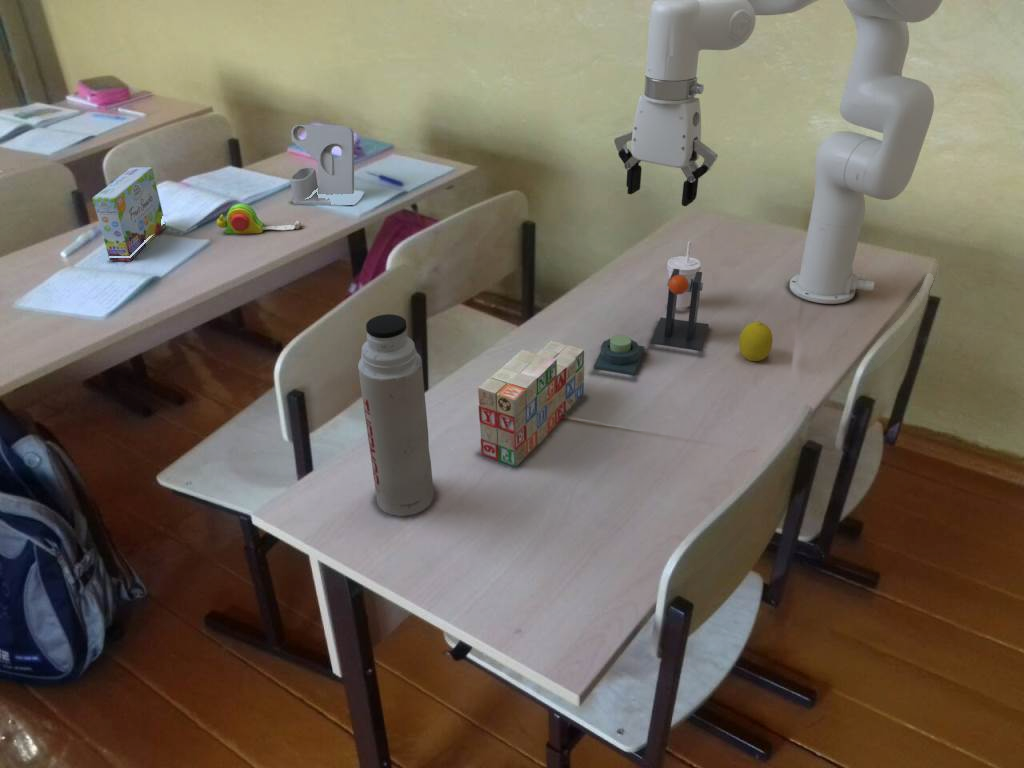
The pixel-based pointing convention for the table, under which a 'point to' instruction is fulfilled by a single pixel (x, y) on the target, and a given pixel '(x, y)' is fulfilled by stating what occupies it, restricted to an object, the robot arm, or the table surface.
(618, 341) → the green round button
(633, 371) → the dark piece
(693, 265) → the smoothie
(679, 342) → the switch bracket
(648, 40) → the robot arm
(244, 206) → the toy measuring tape
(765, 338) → the lemon
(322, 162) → the phone holder
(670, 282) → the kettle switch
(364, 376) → the thermos bottle
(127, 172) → the snack box
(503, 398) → the stack of blocks
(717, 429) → the table surface
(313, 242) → the table surface
